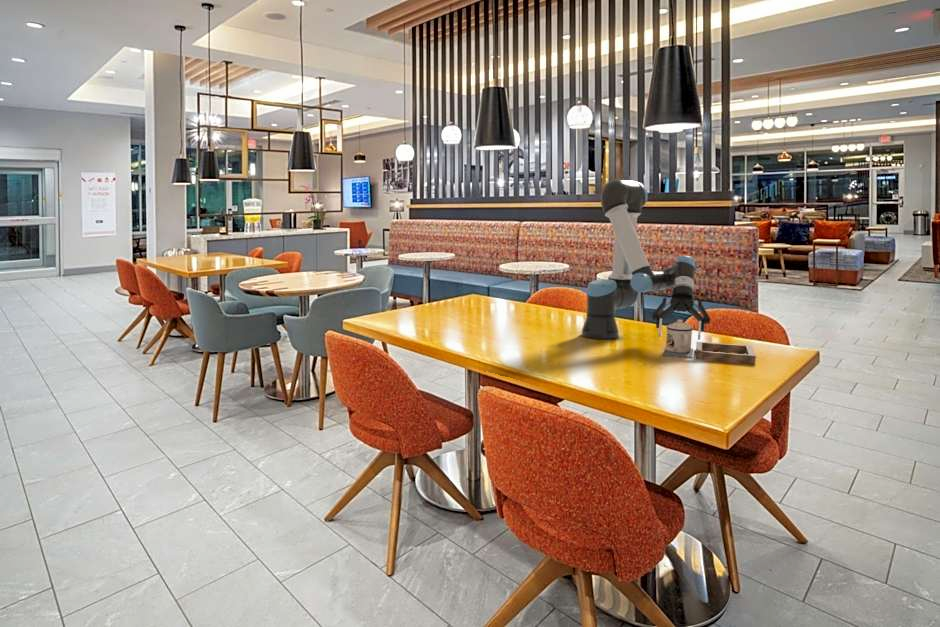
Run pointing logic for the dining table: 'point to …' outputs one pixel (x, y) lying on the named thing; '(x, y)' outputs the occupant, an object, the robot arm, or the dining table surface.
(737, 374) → the dining table surface
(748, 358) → the walnut board
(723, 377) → the dining table surface
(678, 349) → the teacup with lid
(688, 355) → the charcoal rubber mat
